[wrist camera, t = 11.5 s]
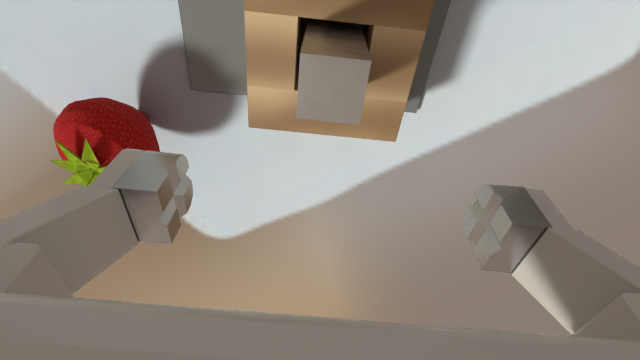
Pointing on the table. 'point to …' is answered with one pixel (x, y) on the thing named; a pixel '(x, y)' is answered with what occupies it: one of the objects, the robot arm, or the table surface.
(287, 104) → the socket block
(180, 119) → the table surface
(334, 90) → the square bit
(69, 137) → the strawberry
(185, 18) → the mat
